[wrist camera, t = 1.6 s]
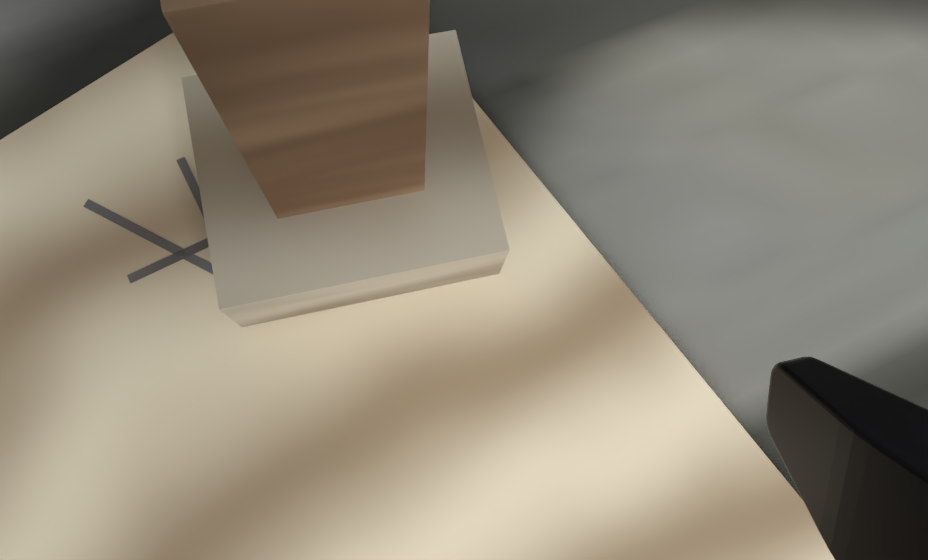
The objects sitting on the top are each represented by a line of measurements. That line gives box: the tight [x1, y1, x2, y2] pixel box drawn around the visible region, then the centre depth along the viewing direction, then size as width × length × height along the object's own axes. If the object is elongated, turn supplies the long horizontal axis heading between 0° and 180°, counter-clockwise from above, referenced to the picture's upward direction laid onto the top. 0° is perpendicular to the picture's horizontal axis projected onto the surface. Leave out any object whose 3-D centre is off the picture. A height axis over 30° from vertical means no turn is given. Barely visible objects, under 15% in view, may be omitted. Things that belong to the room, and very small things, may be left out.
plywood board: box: [0, 33, 835, 560], centre depth 21 cm, size 26×17×2 cm, turn 38°
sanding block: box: [160, 0, 510, 327], centre depth 17 cm, size 6×7×12 cm
